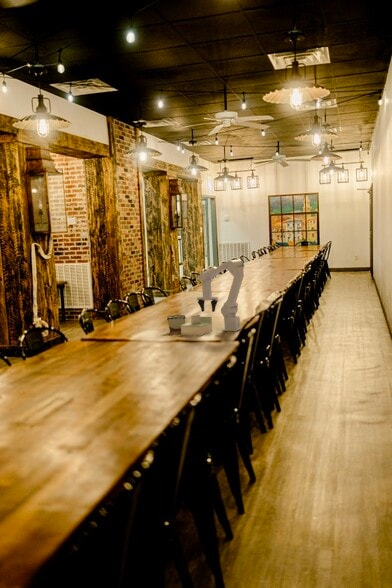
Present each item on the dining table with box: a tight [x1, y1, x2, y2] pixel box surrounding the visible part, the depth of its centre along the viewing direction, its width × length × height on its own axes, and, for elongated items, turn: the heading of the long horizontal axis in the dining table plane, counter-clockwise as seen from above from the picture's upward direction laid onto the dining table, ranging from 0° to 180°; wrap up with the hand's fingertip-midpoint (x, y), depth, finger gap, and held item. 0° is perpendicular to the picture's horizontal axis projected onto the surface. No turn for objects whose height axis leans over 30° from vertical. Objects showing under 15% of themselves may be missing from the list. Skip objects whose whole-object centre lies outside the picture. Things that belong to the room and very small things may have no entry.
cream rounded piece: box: [190, 314, 201, 324], centre depth 340 cm, size 5×5×5 cm
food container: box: [166, 314, 187, 333], centre depth 349 cm, size 12×6×10 cm, turn 84°
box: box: [180, 322, 213, 336], centre depth 341 cm, size 14×14×5 cm
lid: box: [181, 316, 213, 327], centre depth 340 cm, size 14×14×4 cm
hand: (208, 311), depth 353 cm, fingers open, 7 cm apart
